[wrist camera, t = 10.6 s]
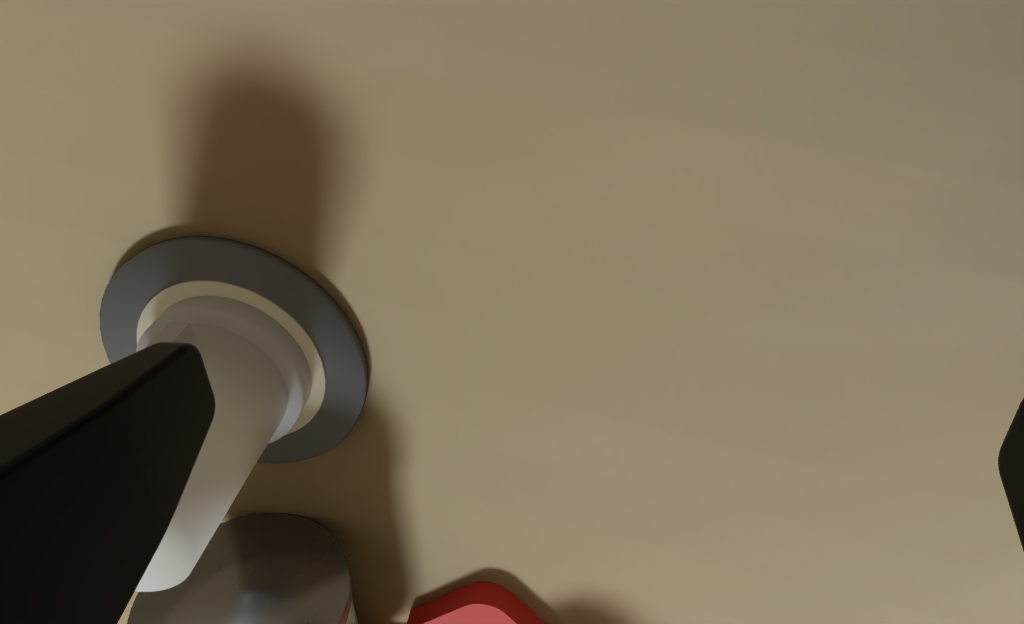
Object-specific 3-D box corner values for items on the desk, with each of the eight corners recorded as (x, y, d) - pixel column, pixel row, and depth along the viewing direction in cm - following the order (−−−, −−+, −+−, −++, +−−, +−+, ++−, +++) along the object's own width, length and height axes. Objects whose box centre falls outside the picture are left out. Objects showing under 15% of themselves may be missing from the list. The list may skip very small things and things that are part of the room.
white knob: (324, 432, 25) (232, 610, 19) (178, 422, 26) (46, 591, 20) (293, 293, 22) (174, 454, 16) (129, 286, 23) (-42, 438, 17)
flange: (345, 241, 21) (340, 249, 21) (384, 464, 26) (380, 474, 26) (67, 231, 23) (56, 238, 22) (153, 446, 27) (145, 456, 27)
